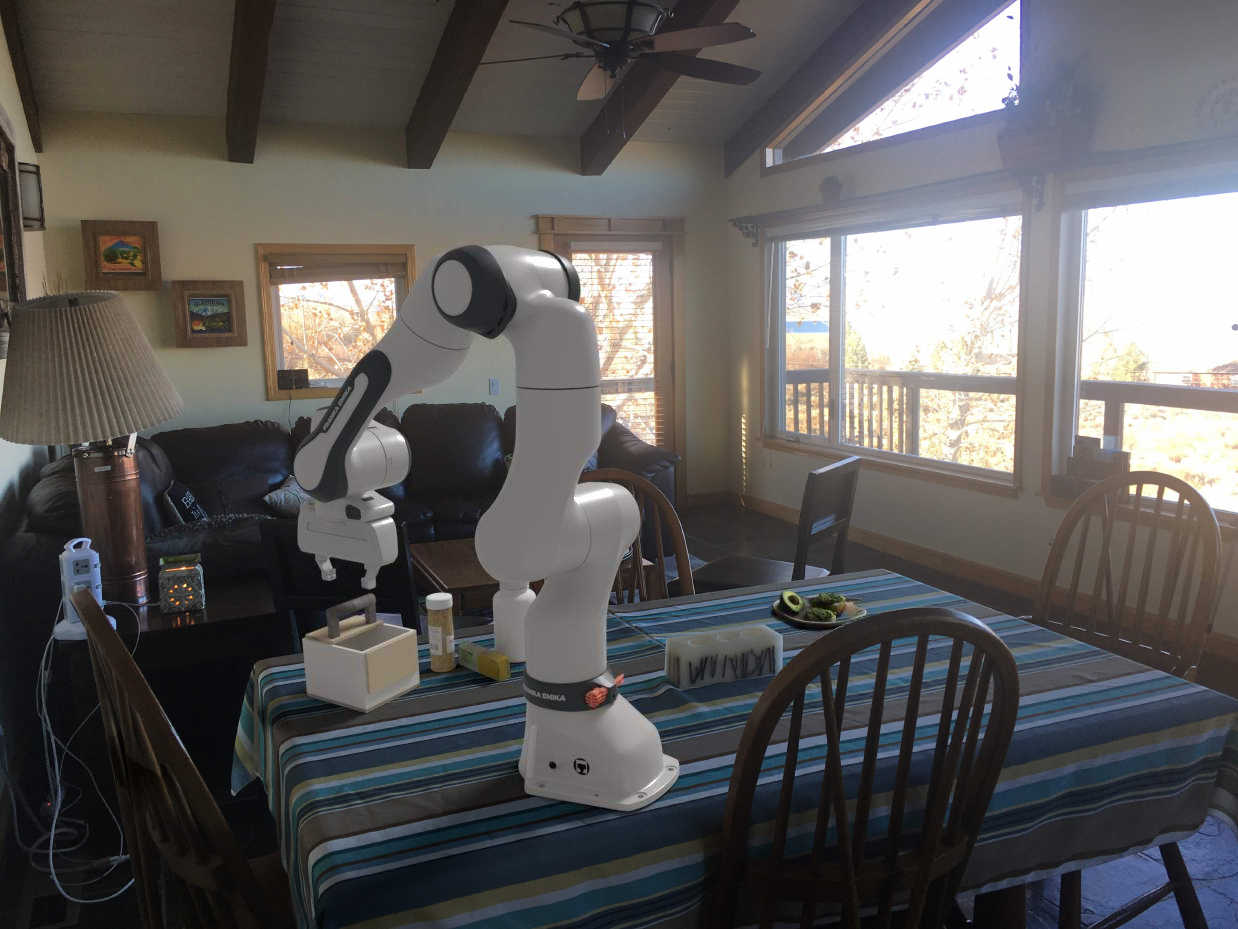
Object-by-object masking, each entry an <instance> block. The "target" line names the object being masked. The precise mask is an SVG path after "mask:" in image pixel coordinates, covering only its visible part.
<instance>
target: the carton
mask: <svg viewBox="0 0 1238 929" xmlns="http://www.w3.org/2000/svg"><path fill="white" fill-rule="evenodd" d="M417 638H418V637H417V629H412V628H408V627H404V626H398V625H396V624H390V623H387V622H386V623H384V624H382V625H380V626H377V627H375V628H372V629H370V630H367V631H365V632H362V633H360V634H357V635H355V636H352V637H350V638H348V639H345V640H343V641H340V642H338V643H335V644H330V643H326V642H322V641H318V640H314V639H310V638H306V637H304V638H302V639H301V640H302V650H303V652H302V653H303V664H304V672H305V673H304V674H305V685H306V686H305V687H306V695H307V697H310V698H313V699H318V700H320V701H324V702H327V703H330V704H332V705H333V704H334V705H337V706H340V707H344V708H347V709H349V710H350V709H351V710H354V711H358V712H360V713H364V714H368V713H369V712H372V711H373V710H376V709H378V708H380V707H382V706H384V705H386V704H388V703H389V702H392V701H393V700H396V699H397V698H400V697H401V696H403V695H405V694H408V693H410V692H412V691H413V690H415V689H419V687H420V686H421V684H420V683H421V682H420V680H421V679H420V667H419V666H420V665H419V652H418V650H419V649H418V641H417V640H418V639H417Z"/></svg>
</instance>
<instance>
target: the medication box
mask: <svg viewBox="0 0 1238 929" xmlns="http://www.w3.org/2000/svg"><path fill="white" fill-rule="evenodd" d="M457 656H458V664H459V665H461V666H462V667H465V668H467V669H470V670H472V671H474V672H477V673H479V674H481V675H484V676H486V677H488V678H491V679H493V680H494V681H496V682H497V681H498V682H501V681H504V680H507V679H509V678H511V668H510V662H509V657H507V656H504V655H502V654H499V653H497V652H495V650H491V649H489V648H487V647H484V646H483V645H482V646H481V645H479V644H477V643H475V642H471V641H469V640H466V641H464V642H461V643H459V644H457Z"/></svg>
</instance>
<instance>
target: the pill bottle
mask: <svg viewBox="0 0 1238 929" xmlns="http://www.w3.org/2000/svg"><path fill="white" fill-rule="evenodd" d="M536 597H537V596H536V593H535V592H534V591H533V589H531V588H530V582H515V583H504V582H500V581H499V590H498V591H497V592H496V593H495V594H494V596H493V597H492V612H493V637H494V638H493V640H494V652H497V653H499V654H502V655H504V656H507V657H509V664H511V663H512V664H514V663H524V662H525V663H526V657H525V634H524V618H525V614H526V611H527V609H528V607H529V606H530V604H531V603H532V602H533V600H534V599H535V598H536Z"/></svg>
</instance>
